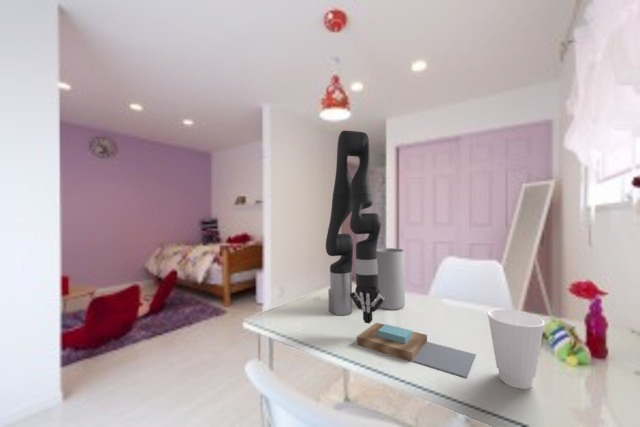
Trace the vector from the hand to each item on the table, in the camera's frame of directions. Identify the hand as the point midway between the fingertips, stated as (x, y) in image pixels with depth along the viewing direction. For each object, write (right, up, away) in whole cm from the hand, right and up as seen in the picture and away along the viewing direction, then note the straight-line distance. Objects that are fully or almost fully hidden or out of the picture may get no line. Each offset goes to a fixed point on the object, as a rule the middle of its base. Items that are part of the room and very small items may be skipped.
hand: (367, 322), depth 97 cm
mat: (+20, -5, -15) cm, 25 cm away
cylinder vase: (+15, -5, +31) cm, 35 cm away
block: (+7, -5, -5) cm, 10 cm away
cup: (+33, -5, -26) cm, 42 cm away
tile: (+8, -2, -6) cm, 10 cm away
